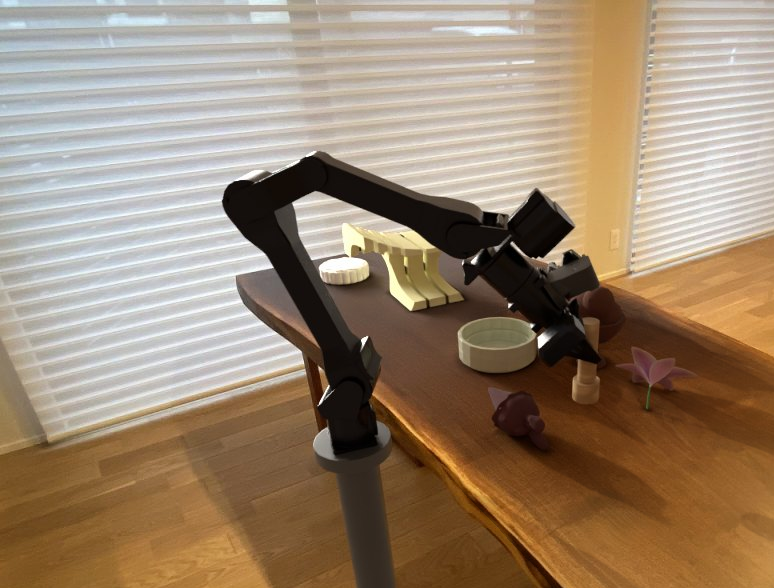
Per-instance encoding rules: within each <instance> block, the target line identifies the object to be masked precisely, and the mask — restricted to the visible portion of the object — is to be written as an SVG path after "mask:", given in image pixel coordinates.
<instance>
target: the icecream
mask: <svg viewBox="0 0 774 588" xmlns="http://www.w3.org/2000/svg"><path fill="white" fill-rule="evenodd" d="M487 390H488V394H489V396H490V399H491V403H492V405H493V407H494V410H495V411H494V413H492V415H491V421H492V422H493V425H494V427H496V428H497V429H499V430H500V431H502V432H505V433H506V435H508V436H512V437H525V436H527V435H528V436H529V438H530V440H531V441H532V443H533V444H534V445H535V446H536V447H537V448H538V449H540V450H541V451H546V450H547V449H548V448H549V442H548V439H546V437H545V435H544V434H543V432H544V430H545V429H546V424H545V421H544V420H543V418H541V417H540V409H539V406H538V404H537V403H536V400H535V399H534V397H533V395H532V393H531V392H527V391H525V390H520V391H517V392H511V391H507V390H503V389H499V388H496V387H493V386H492V387H491V386H488V388H487Z"/></svg>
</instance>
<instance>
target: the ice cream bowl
mask: <svg viewBox="0 0 774 588" xmlns="http://www.w3.org/2000/svg"><path fill="white" fill-rule="evenodd" d="M575 298H577V300H578V303H579V318H580V317H581V316H582V318H586V317H592V318H596V319H598V320H599V321H600V324H599V339H598V345H601V344H605V343H607V342H609V341H611V340H612V339H613V338H614V337H616V335H617V334H619V333H620V332H621V331H622V330H623V327H625V323H626V320H627V316H626V315H625V313H624V312H623V309H622V306H621V305H620V304H619V303H618V302H616V301H615V296H614V294H613V292H612V291H611V290H610V289H609V288H607V287H605V286H601V285H600V286H599V287H598V288H597V289H595V290H593V291H587V292H585V293H582V294H580V295H578V296H575V297H573V298H572V299H571V300H570V302H571V301H572V300H573V299H575ZM570 302H569V303H570ZM599 355H600V357H601V361H600V362H599V363H597V368H596V370H597V369H603V368H604V367H605V366H606V365H607V360H606V358H605V357H604V356H603V355H601V354H599ZM575 361H576V364H577V365H578V359H575Z"/></svg>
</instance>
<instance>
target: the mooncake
mask: <svg viewBox="0 0 774 588" xmlns="http://www.w3.org/2000/svg"><path fill="white" fill-rule="evenodd" d="M369 266H370V265H369V262H367V260H366V259H363V258H357V257H352V258H351V257H349V256H348V257H347V256H343V257H339V258H332V259H329V260H326V261H324V262H323V263H322V264H320V265H319V267H318V272H319V275H320V276H321V278H322V280H323V282H324V283H325V284H330V285H338V286H339V285H340V286H341V285H350V284H356V283H360V282H362V281H364V280H366V279H367V278H369V276H370V267H369Z"/></svg>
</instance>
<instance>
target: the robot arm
mask: <svg viewBox="0 0 774 588" xmlns="http://www.w3.org/2000/svg"><path fill="white" fill-rule="evenodd" d="M315 192H317V193H321V194H323V195H326V196H327V197H328V196H329V197H331V198H334V199H336V200H339V201H341V202H343V203H346V204H349V205H351V206H353V207H356V208H359V209H361V210H363V211H366V212H369V213H371V214H374V215H375V216H376V215H377V216H379V217H381V218H384V219H386V220H389V221H391V222H394V223H397V224H399V225H401V226H404V227H406V228H408V229H410V230H411V231H415V232H416V233H418V234H419V235H420V236H421V237H422V238H424V239H425V240H426V241H427V242H428V243H429V244H431V245H433V246H434V247H436V248H438V249H439V250H441V251H442V253H444V254H446V255H448V256H449V257H450V258H453V259H456V260H462V263H461V264H462V265H461V267H462V270H463V284H464V286H466V287H467V286H470V285H471V284H472V283H473V282H474V281H475V280H476V279H477V278H478V277H480V278H481V279H482V280H483V281H484V282H485V283H486V284H487V285H489V286H490V287H491V288H492V289H493V290H494V291H495V292H496V293H497V294H498V295H499V296H500V297H502V299H504V300H505V301H506V302H507V304H508V310H509V311H510V312H511V313H512V314H515V313H516V312H518V313H519V314H520V315H521V316H522V317H523V319H525V320H526V321H527V322H528V323H529V324H530V327H531V330H532V331H533V332H535V333H537V334H538V333H539V332H540V331H541V330H542V329H544V331H543V332H542V333H541V334H539V336H537V357H538V359H539V360H540V362H542V363H543V364H544V366H547V368H553V367H554V366H555V365H556V364H558V363H559V362H560V361H561V360H563V358H564V357H568V358H572V359H575V360H577V359H579V360H582V361H586V362H590V363H593V364H597V363H599V362H600V361H601V357H600V355H601V354H599V348H598V353H597V351H596V350H595V348H594V347H593V346H592V344H591V343H590V342H589V340H588V339H587V338H586V334H585V331H584V322H583V318H582V316H581V317H580V318H579V303H578V300H577V298H575V299H573V300H572V301H571V302H570V303H569V302H568V301H567V300H566V299H570V298H573V297H575V296H578V295H580V294H582V293H585V292H587V291H593V290H595V289H597V288H598V287H599V286H601V283H600V280H599V277H598V275H597V273H596V271H595V268H594V266H593V263H592V261H591V258H590V256H589V255H586V254H585V253H583V254H581V255H580V254H578V252H576V251H575V250H574V249H573V248H570V249H568V250H566V251H564V252H562V253H561V261H560V262H561V263H560V264H558V265H557V269H555V270H553V271H551V272H549V273H548V272H547V269H545V268H544V267H543V266H539V265H538V266H537V267H535V266H534V265H533V264H532V263H531V262H530V261H529V260H528V258H529V259H534V260H537V259H538V258H541V259H544V258H545V257H546V256H548V254H550V253H551V251H553V250H554V249H555V248H556V247H557V246H558V245H559V244H560V243H561V242H562V241H563V240H564V239H565V238H566V237H567V236H569V234H571V232H573V231H574V230H575V228H576V224H575V222H574V221H573V220H572V218H571V217H570V216H569V215H568V214H567V212H566V211H565V210H564V209H563V208H562V207H561V205H559V203H557V202H556V200H554V201H553V200H552V199H551V198H550V197H549V196H547V195H546V194H545V193H543V192H542V190H540V189H539V187H535V188H534V189H532V191H530V192H529V193H528V195H527V197H526V198H525V200H524V201H523V202H522V203H521V204H520V205H519V206H518V207H517V208H516V209H515V210H514V211H513V212H512V213H511V214H508V213H503V212H501V213H500V212H495V211H494V212H493V211H486V210H482V209H481V208H480V207H479V205H477V204H475V203H473V202H470V201H466V200H461V199H458V198H453V197H447V196H439V195H429V194H425V193H420V192H418V191H415V190H413V189H410V188H408V187H406V186H403V185H401V184H398V183H396V182H393V181H391V180H388V179H386V178H383V177H381V176H379V175H376V174H374V173H371V172H369V171H366V170H364V169H362V168H359V167H357V166H354V165H352V164H349V163H348V162H344V161H342V160H340V159H338V158H335V157H333V156H332V155H330V154H329V153H327V152H326V151H322V150H316V151H315V150H314V151H312V152H310V153H309V154H307V155H306V156H305V155H304V157H302V158H300V159H299V160H297V161H295V162H293V163H291V164H288V165H286V166H284V167H282V168H279V169H277V170H275V171H272V172H271V171H268V170H262V169H257V170H253V171H251V172H249V173H247V174H245V175H243V176H242V177H239V178H238V179H235V180H233V181H232V182H231V183H229V184H228V185H227V186H226V188H225V189H224V191H223V194H222V199H221V205H222V209H223V211H224V214H225V215H226V216H227V218H228V219H229V220H230V222H231V223H232V224H233V225H234V226H235V228H236V229H237V231H238V232H239V233H240V234H241V236H242V237H243V238H244V239H245V240H247V241H248V242H249V243H250V244H252V245H253V246H254V247H256V248H257V249H258V250H259V251H260V252H262V253H263V254H264V255H265V256H266V257H267V259H268V261H269V263H270V264H271V266H272V267H273V270H274V271H275V273H276V274H277V277H278V278H279V280H280V281H281V283H282V285H283V287H284V289H285V290H286V292H287V294H288V295H289V297H290V299H291V301H292V302H293V304H294V306H295V308H296V309H297V311H298V312H299V315H300V316H301V318H302V320H303V322H304V323H305V325H306V327H307V328H308V330H309V332H310V334H311V335H312V337H313V339H314V340H315V342H316V344H317V346H318V347H319V349H320V352H321V357H322V358H321V359H322V365H323V370H324V376H325V378H326V379H325V380H326V381H327V384H328V386H327V387H326V389H325V392H324V394H323V395H322V397H321V399H320V401H319V402H318V404H317V406H316V409H317V411H318V414H319V415H320V417H321V418H322V419H323V420H325V421H326V424H327V425H326V426H327V427H328V431H327V433H328V437H329V440H330V444H331V448H332V451H333V454H334V455H338V454H342V453H347V452H351V451H355V450H360V449H364V448H368V447H373V446H376V445H378V441H377V438H376V435H378V427H377V421H378V420H377V412H376V410H375V408H374V405H373V404H372V403H371V402H370V399H371V398H372V396H373V393H374V391H375V388H376V385H377V383H378V380H379V378H380V375H381V372H382V366H381V365H382V364H381V363H382V359H383V356H382V355H380V353H378V351H377V349H376V348H375V346H374V343H373V340H372V338H371V336H370V335H367V336H366V337H363V338H362V339H361V338H360V337H358V336H357V335H355V334H354V333H353V332H352V331H351V329H350V327H349V326H348V324H347V323H346V321H345V319H344V317H343V315H342V313H341V311H340V309H339V308H338V305H337V304H336V302H335V300H334V298H333V296H332V294H331V293H330V291H329V290H328V287H327V286H326V283H325V282H323V280H322V278H321V276H320V272H319V270H318V269H317V267H316V265H315V264H314V262H313V260H312V258H311V256H310V254H309V253H308V251H307V249H306V246H305V245H304V243H303V241H302V239H301V237H300V234H299V227H298V220H297V214H296V209H295V207H294V205H293V203H294V202H296V201H298V200H300V199H302V198H304V197H306V196H308V195H311V194H313V193H315ZM512 243H513V244H514V245H515V246H516V247H517V248H518V249H519V250H518V249H517V248H516V247H515V246H514V245H513V244H512ZM521 252H522V253H521ZM525 256H526V257H527V258H526V257H525ZM472 257H473V258H472Z"/></svg>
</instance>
